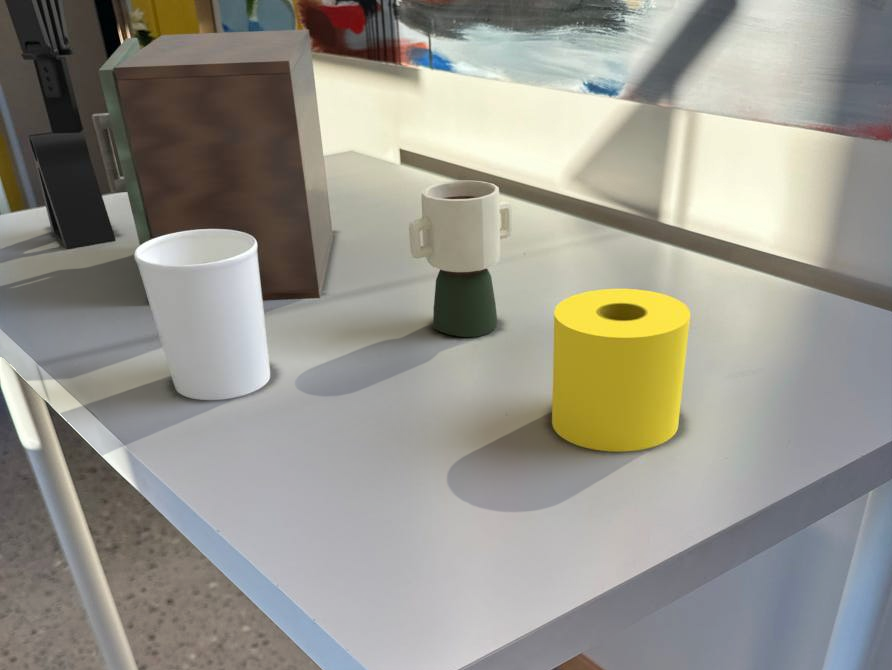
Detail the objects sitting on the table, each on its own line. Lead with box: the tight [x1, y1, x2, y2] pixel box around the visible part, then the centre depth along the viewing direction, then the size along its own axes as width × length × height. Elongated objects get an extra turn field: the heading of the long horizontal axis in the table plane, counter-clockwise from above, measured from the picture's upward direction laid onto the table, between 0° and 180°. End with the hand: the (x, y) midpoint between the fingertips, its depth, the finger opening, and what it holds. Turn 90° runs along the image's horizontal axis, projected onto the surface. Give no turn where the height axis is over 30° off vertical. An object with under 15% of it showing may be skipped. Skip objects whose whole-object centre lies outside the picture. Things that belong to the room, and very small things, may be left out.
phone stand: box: [28, 130, 116, 250], centre depth 119 cm, size 9×6×12 cm, turn 30°
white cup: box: [133, 229, 271, 401], centre depth 82 cm, size 10×10×12 cm
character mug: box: [408, 179, 513, 338], centre depth 90 cm, size 11×7×13 cm, turn 123°
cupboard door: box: [91, 37, 153, 246], centre depth 104 cm, size 6×22×22 cm, turn 10°
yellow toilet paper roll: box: [551, 288, 691, 453], centre depth 75 cm, size 10×10×9 cm
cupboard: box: [114, 28, 334, 302], centre depth 104 cm, size 16×22×22 cm
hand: (67, 131), depth 99 cm, fingers closed
